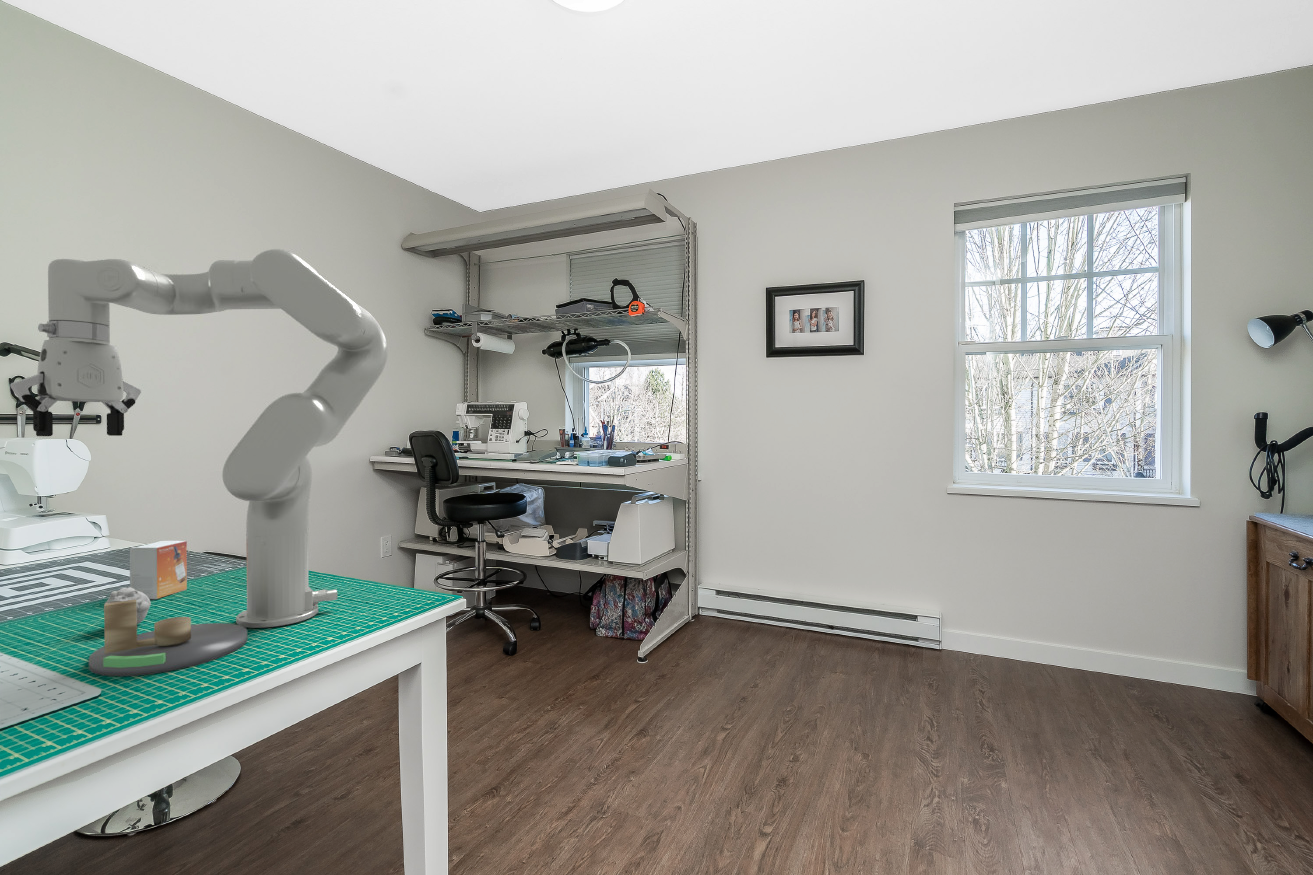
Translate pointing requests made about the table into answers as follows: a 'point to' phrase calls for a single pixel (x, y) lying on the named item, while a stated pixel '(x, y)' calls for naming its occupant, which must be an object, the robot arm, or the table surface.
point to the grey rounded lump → (132, 594)
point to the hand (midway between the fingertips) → (81, 435)
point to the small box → (159, 568)
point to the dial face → (171, 652)
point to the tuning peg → (124, 628)
